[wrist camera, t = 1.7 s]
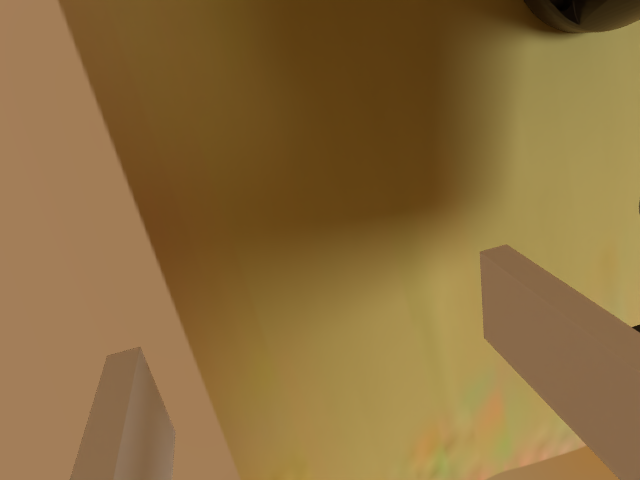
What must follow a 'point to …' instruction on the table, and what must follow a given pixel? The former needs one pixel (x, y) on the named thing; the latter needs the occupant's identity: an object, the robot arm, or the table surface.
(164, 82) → the table surface
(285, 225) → the table surface
